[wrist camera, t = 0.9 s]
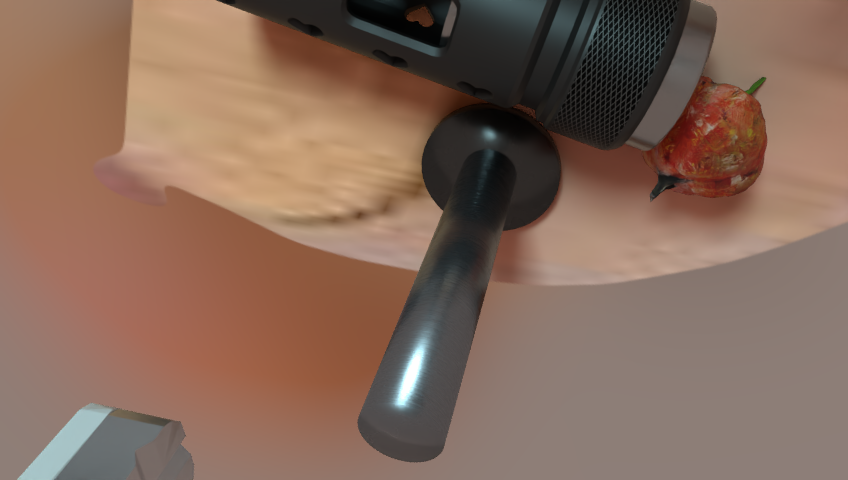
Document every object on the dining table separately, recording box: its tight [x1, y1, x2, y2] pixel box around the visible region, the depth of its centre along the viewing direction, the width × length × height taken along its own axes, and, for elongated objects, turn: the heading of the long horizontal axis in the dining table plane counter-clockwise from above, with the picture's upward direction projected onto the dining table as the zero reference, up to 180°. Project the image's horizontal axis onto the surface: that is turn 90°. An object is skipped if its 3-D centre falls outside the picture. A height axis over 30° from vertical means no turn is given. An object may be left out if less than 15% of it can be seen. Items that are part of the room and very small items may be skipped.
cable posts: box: [358, 103, 561, 462], centre depth 30 cm, size 10×38×24 cm, turn 12°
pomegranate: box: [642, 76, 767, 201], centre depth 39 cm, size 7×7×10 cm
